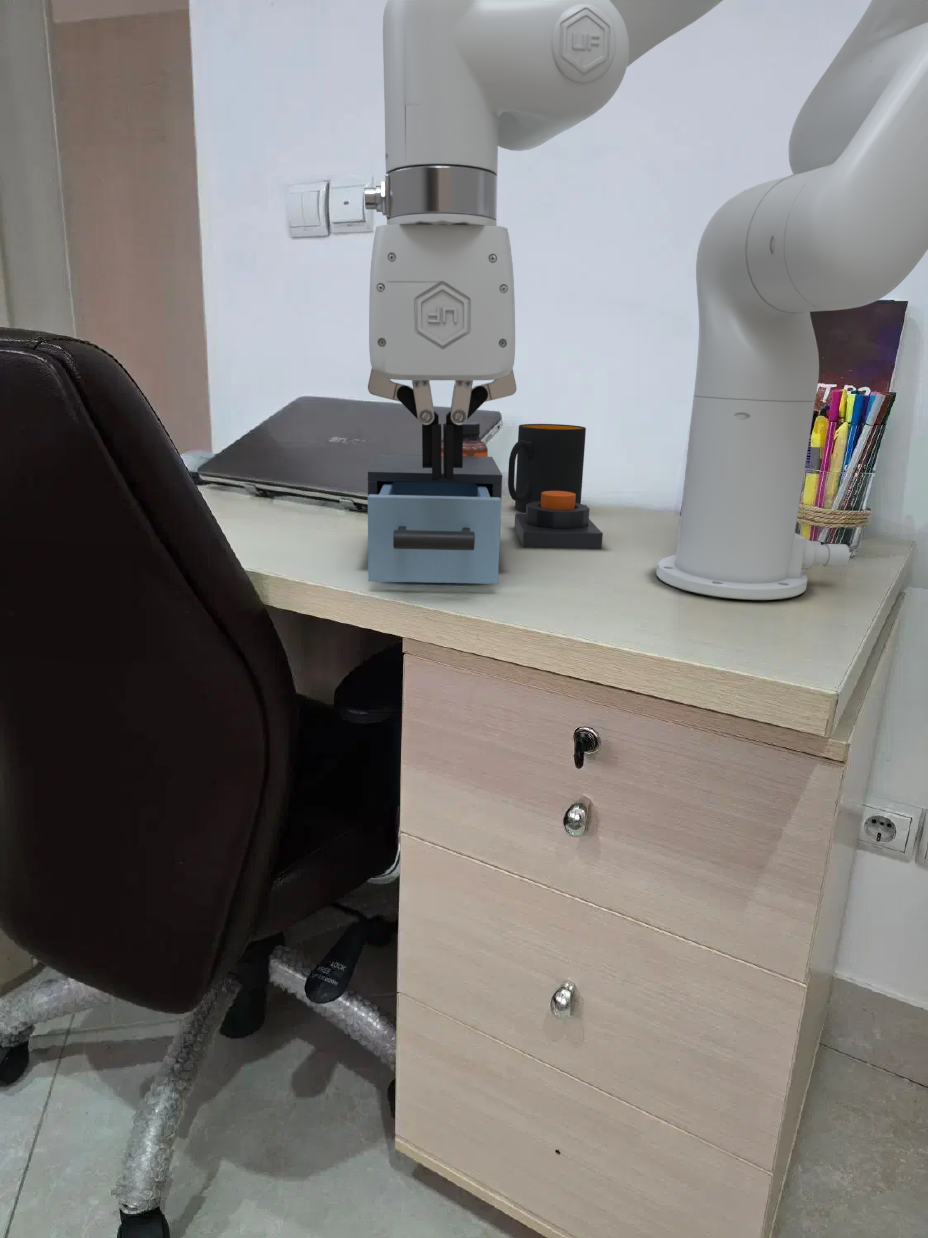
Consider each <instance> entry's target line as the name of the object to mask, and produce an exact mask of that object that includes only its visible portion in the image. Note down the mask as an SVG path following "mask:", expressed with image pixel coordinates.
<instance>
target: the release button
mask: <svg viewBox="0 0 928 1238" xmlns="http://www.w3.org/2000/svg"><path fill="white" fill-rule="evenodd" d="M575 498H576V494H575V493H572V492H566V491H544V492H542V493H541V507H542V508H547V509H558V510H568V509H575Z"/></svg>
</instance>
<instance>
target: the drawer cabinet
mask: <svg viewBox="0 0 928 1238" xmlns="http://www.w3.org/2000/svg"><path fill="white" fill-rule="evenodd" d="M385 481H392V482H434V483H475V484H486V487H487V490H488V492H489V495H490V497H500V498H501V499H502V492H503V473H502V472H501V470H500V469H499V466H498V465H497V463H496V461H495V459H494V458H493V456H488V457H480V456H463V468H453V481H447V480H446V479H444V475H443V456H442V479H439V481H432V468H423V466H422V454H401V453H399V454H397V453H396V454H395V453H378V454H377V456H376V457H375V459H374V461H373V462H372V464H371V465H370V467H369V469H368V470H367V497H368V496H369V494H373V495H379V494H380V492H381V489H382V487H383V484H384V482H385Z"/></svg>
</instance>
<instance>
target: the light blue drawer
mask: <svg viewBox="0 0 928 1238" xmlns="http://www.w3.org/2000/svg"><path fill="white" fill-rule="evenodd" d="M501 520H502V497H501V498H500V497H490V495H489V492H488V490H487V487H486V484H475V483H434V482H392V481H385V482H384V484H383V487H382V489H381V492H380V494H379V495H373V494H369V496H368V495H367V572H368V573H367V579H368V580H367V581H368V582H375V583H377V582H378V583H379V582H381V583H384V582H385V583H431V584H433V583H437V584H478V585H479V584H483V585H484V584H487V585H498V583H499V569H500V568H499V566H500V545H501Z"/></svg>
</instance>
